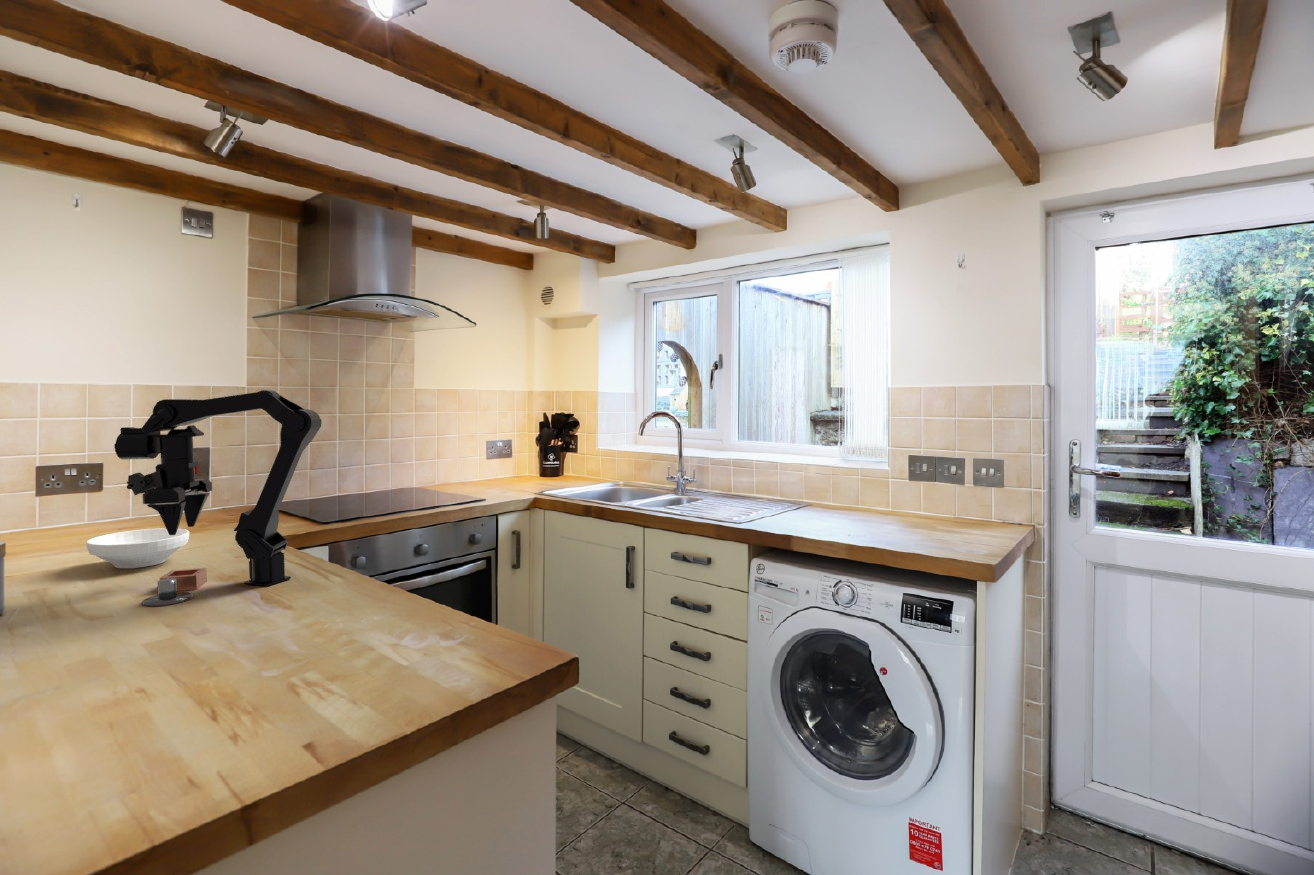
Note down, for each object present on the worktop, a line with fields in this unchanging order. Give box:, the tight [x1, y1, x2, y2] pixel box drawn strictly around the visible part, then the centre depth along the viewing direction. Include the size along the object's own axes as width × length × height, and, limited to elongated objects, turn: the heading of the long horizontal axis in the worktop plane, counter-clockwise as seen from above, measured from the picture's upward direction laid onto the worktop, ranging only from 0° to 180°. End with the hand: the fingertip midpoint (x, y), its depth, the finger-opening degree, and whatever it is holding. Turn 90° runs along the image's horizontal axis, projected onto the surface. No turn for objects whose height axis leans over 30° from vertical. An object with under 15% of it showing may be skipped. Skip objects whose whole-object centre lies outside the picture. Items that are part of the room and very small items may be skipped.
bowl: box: [85, 527, 190, 569], centre depth 159 cm, size 20×20×7 cm
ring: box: [159, 567, 208, 592], centre depth 140 cm, size 6×6×3 cm
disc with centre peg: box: [142, 578, 194, 607], centre depth 131 cm, size 8×8×4 cm
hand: (182, 530), depth 141 cm, fingers open, 9 cm apart
